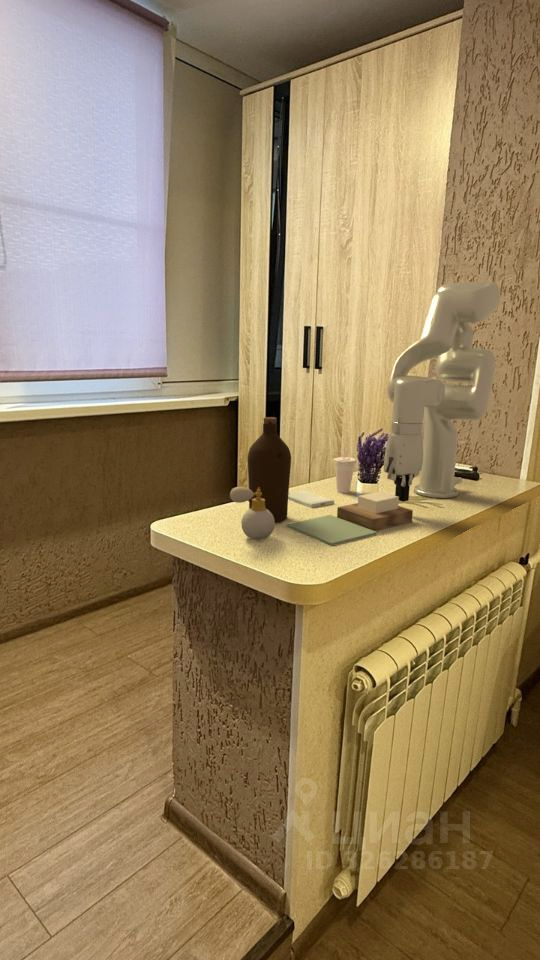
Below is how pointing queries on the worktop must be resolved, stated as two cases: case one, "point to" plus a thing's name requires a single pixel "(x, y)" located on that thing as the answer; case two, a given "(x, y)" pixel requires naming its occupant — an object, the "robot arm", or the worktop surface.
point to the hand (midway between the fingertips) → (401, 500)
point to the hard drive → (309, 499)
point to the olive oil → (270, 470)
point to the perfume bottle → (254, 514)
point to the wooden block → (374, 517)
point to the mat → (331, 530)
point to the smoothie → (344, 472)
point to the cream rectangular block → (378, 502)
